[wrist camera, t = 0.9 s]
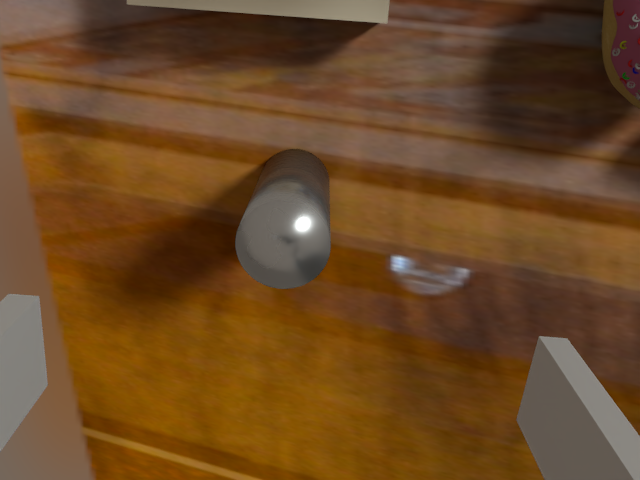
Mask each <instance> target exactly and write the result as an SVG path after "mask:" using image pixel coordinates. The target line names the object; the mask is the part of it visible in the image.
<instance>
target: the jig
mask: <svg viewBox="0 0 640 480" xmlns="http://www.w3.org/2000/svg"><path fill="white" fill-rule="evenodd" d="M127 5H140V6H154V7H168V8H181V9H195V10H209V11H223V12H236V13H250V14H264V15H278V16H291V17H305V18H319V19H333V20H346V21H360V22H374V23H387V20H388V10H389V0H127Z"/></svg>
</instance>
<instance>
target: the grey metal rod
mask: <svg viewBox="0 0 640 480" xmlns="http://www.w3.org/2000/svg"><path fill="white" fill-rule="evenodd" d="M235 246H236V253H237V256H238V259H239V261H240V263H241V265H242V267H243V268H244V270H245V271H246V272H247V273H248V274H249V275H250V276H251V277H252V278H254V279H255V280H256V281H258V282H260V283H262V284H264V285H267V286H269V287H273V288H280V289H288V288H295V287H299V286H302V285H304V284H306V283H308V282H310V281H311V280H313V279H314V278H315V277H316V276H318V275H319V274H320V272H321V271H322V270H323V268H324V267H325V265H326V263H327V261H328V258H329V255H330V191H329V176H328V172H327V170H326V168H325V166H324V164H323V163H322V162H321V160H320V159H319V158H317V157H316V156H315V155H313V154H312V153H310V152H307V151H305V150H300V149H288V150H284V151H281V152H279V153H277V154H275V155H274V156H273V157H271V158H270V159H269V160H268V162H267V163H266V164H265V166H264V168H263V170H262V173H261V175H260V177H259V180H258V182H257V185H256V187H255V189H254V192H253V194H252V196H251V199H250V201H249V204H248V206H247V208H246V211H245V213H244V215H243V218H242V220H241V223H240V225H239V227H238V230H237V234H236V240H235Z"/></svg>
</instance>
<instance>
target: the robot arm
mask: <svg viewBox="0 0 640 480" xmlns="http://www.w3.org/2000/svg"><path fill="white" fill-rule="evenodd" d="M47 385H48V382H47V372H46V361H45V351H44V341H43V331H42V321H41V310H40V300H39V296H29V295H17V294H8V295H7V296H6V297H5V298H4V299H3V300H2V301H1V302H0V452H1V450H2V449H3V448H4V446H5V445H6V443H7V442H8V440H9V439H10V438H11V436H12V435H13V433H14V432H15V430H16V429H17V428H18V426H19V425H20V424H21V422H22V421H23V419H24V418H25V417H26V415H27V414H28V412H29V411H30V409H31V408H32V407H33V405H34V404H35V402H36V401H37V400H38V398H39V397H40V395H41V394H42V392H43V391H44V390H45V388H46V387H47ZM517 422H518V424H519V426H520V429H521V431H522V433H523V435H524V437H525V439H526V441H527V443H528V445H529V448H530V450H531V452H532V454H533V456H534V458H535V460H536V462H537V464H538V467H539V469H540V471H541V473H542V475H543V477H544V479H545V480H640V436H639V435H638V434H637V432H636V431H635V429H634V428H633V427H632V425H631V424H630V423H629V421H628V420H627V419H626V417H625V416H624V415H623V413H622V412H621V411H620V409H619V408H618V406H617V405H616V404H615V402H614V401H613V400H612V398H611V397H610V396H609V394H608V393H607V392H606V390H605V389H604V388H603V386H602V385H601V384H600V382H599V381H598V379H597V378H596V377H595V375H594V374H593V373H592V371H591V370H590V369H589V367H588V366H587V365H586V363H585V362H584V361H583V359H582V358H581V356H580V355H579V354H578V352H577V351H576V350H575V348H574V347H573V346H572V344H571V343H570V342H569V340H568V339H567V338H555V337H542V336H539V338H538V342H537V345H536V349H535V353H534V356H533V360H532V364H531V368H530V371H529V375H528V379H527V383H526V386H525V390H524V394H523V397H522V401H521V405H520V409H519V412H518V416H517Z"/></svg>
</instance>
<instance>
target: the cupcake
mask: <svg viewBox="0 0 640 480" xmlns="http://www.w3.org/2000/svg"><path fill="white" fill-rule="evenodd" d="M602 55H603V62H604V66H605V70H606V73H607V75H608V78H609V80H610V82H611V83H612V85H613V86H614V87H615V89H616V90H617V91H618V92H619V93H621V94H622V95H623V96H624V97H625V98H626V99H627V100H628V101H629V102H630V103H631V104H632V105H634V106H636V107H638V108H640V0H604V9H603V23H602Z"/></svg>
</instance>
